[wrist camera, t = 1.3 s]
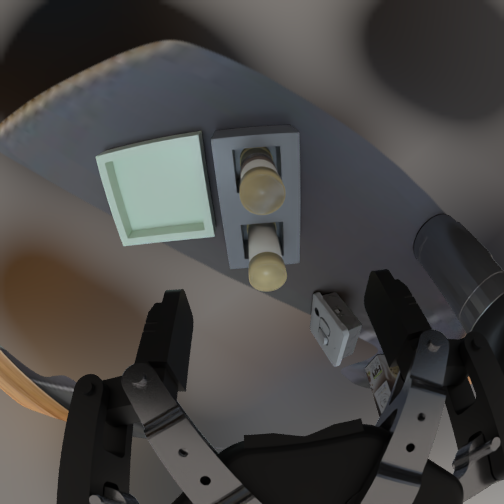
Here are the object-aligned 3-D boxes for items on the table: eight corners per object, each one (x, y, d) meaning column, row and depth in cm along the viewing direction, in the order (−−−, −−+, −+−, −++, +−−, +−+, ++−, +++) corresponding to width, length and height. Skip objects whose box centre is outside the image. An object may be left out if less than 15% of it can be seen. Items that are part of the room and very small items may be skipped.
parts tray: (201, 130, 27) (198, 134, 25) (216, 225, 34) (214, 236, 32) (104, 150, 27) (95, 156, 25) (129, 235, 34) (123, 246, 32)
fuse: (274, 209, 32) (286, 260, 23) (275, 233, 34) (286, 289, 25) (245, 211, 32) (247, 264, 23) (247, 236, 34) (250, 292, 25)
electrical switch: (312, 290, 41) (332, 337, 33) (343, 284, 41) (367, 327, 34) (309, 328, 46) (324, 371, 39) (336, 322, 47) (354, 363, 39)
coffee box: (363, 369, 57) (380, 426, 44) (377, 354, 54) (397, 414, 41) (391, 366, 59) (409, 419, 46) (404, 352, 55) (426, 407, 42)
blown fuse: (270, 142, 27) (284, 171, 19) (272, 172, 29) (286, 213, 21) (238, 145, 27) (237, 175, 19) (241, 174, 29) (241, 216, 21)
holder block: (290, 124, 27) (299, 132, 23) (292, 239, 35) (299, 262, 31) (215, 130, 27) (210, 139, 23) (231, 244, 35) (230, 269, 31)
